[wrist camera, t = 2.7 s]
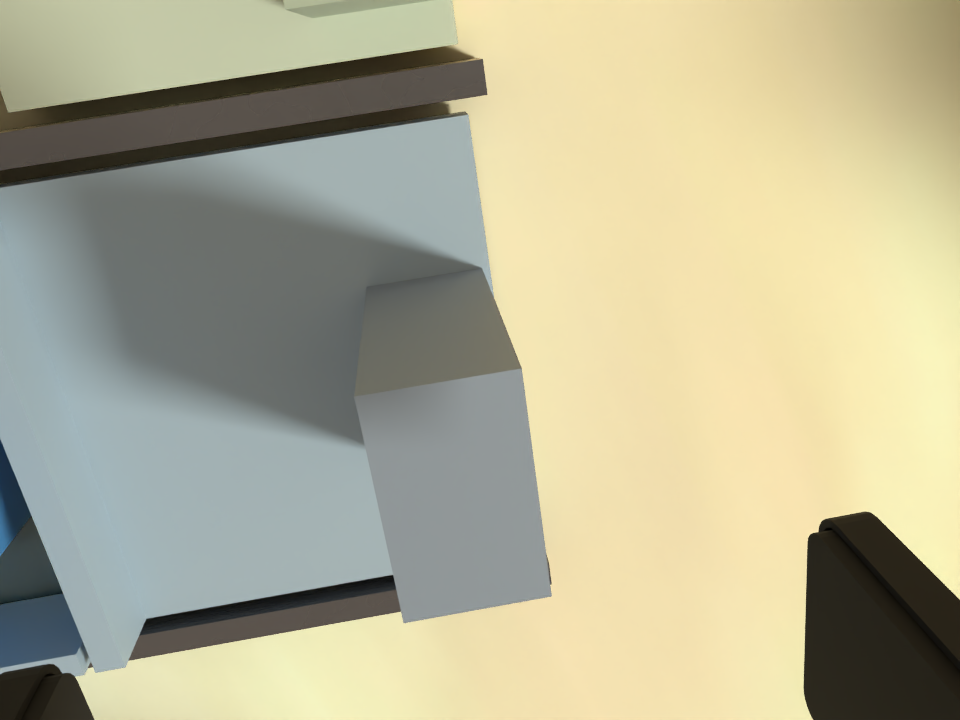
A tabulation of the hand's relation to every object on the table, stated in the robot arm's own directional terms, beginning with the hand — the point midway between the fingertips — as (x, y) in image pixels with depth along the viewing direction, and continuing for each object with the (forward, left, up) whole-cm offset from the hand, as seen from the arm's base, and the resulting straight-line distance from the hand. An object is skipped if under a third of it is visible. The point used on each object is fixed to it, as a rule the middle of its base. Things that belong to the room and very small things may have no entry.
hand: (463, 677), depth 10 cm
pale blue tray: (+10, +1, -13) cm, 17 cm away
